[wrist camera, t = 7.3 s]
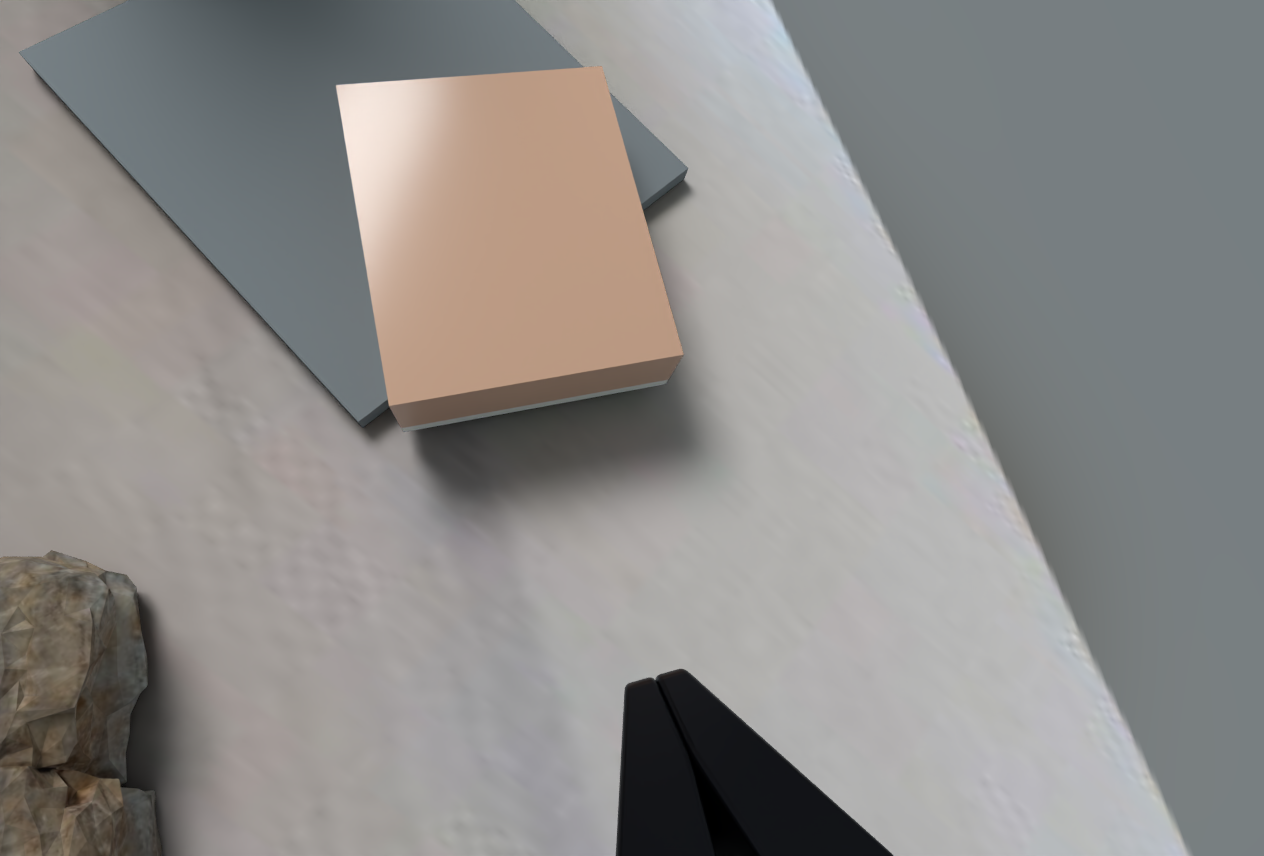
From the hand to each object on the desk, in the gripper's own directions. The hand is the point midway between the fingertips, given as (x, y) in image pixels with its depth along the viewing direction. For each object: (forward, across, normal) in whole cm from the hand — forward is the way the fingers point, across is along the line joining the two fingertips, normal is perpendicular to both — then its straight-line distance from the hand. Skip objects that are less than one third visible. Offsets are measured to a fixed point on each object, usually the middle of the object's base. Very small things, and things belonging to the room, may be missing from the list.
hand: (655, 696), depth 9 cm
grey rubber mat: (+20, +3, -6) cm, 21 cm away
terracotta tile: (+12, 0, +1) cm, 12 cm away
